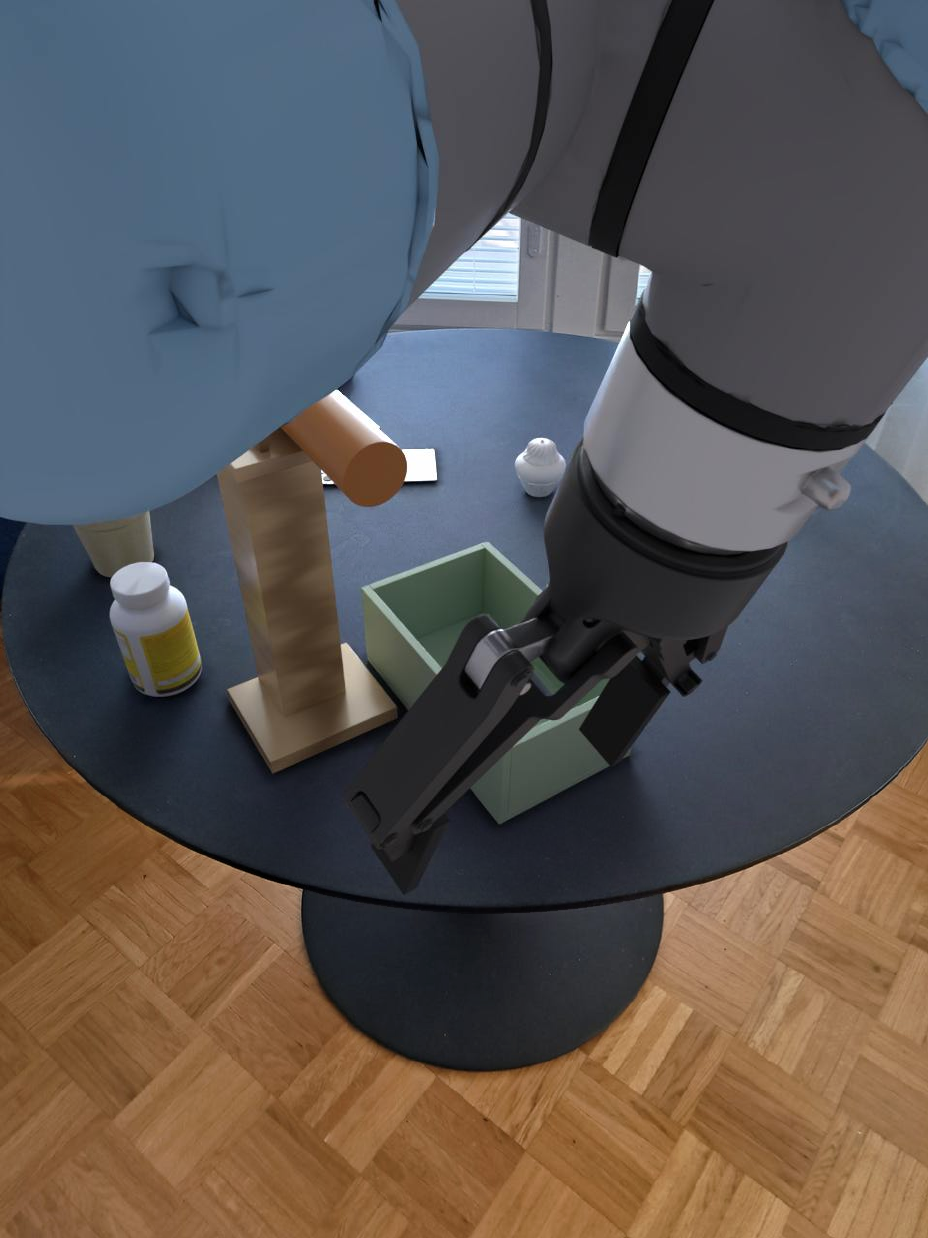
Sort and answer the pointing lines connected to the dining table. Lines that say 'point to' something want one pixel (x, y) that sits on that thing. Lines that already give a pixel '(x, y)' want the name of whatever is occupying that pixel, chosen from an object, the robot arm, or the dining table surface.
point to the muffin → (540, 467)
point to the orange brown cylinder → (350, 450)
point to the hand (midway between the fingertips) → (505, 801)
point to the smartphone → (411, 467)
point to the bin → (423, 640)
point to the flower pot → (117, 542)
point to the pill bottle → (154, 630)
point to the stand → (292, 610)
